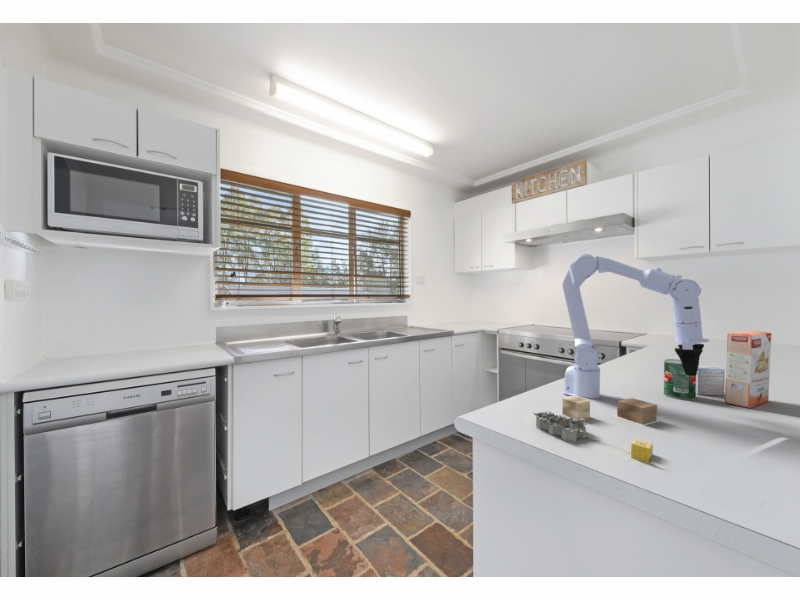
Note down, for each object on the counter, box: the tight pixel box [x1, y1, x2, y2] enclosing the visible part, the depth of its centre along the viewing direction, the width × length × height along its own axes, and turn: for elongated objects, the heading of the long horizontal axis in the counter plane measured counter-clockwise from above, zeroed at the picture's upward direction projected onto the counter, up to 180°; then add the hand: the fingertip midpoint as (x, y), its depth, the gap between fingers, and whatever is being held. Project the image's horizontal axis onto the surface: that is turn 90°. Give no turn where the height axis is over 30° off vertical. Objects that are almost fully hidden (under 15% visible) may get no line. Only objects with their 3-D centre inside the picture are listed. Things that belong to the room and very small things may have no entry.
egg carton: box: [533, 411, 590, 442], centre depth 80 cm, size 11×8×4 cm
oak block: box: [562, 395, 591, 419], centre depth 88 cm, size 4×4×5 cm
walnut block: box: [616, 397, 658, 426], centre depth 86 cm, size 6×6×4 cm
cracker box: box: [724, 330, 772, 409], centre depth 101 cm, size 14×6×21 cm, turn 117°
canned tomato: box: [662, 358, 697, 401], centre depth 107 cm, size 8×8×11 cm
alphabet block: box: [630, 438, 654, 464], centre depth 67 cm, size 3×3×3 cm
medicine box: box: [696, 365, 726, 396], centre depth 110 cm, size 8×4×9 cm, turn 84°
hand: (691, 372), depth 93 cm, fingers open, 7 cm apart
